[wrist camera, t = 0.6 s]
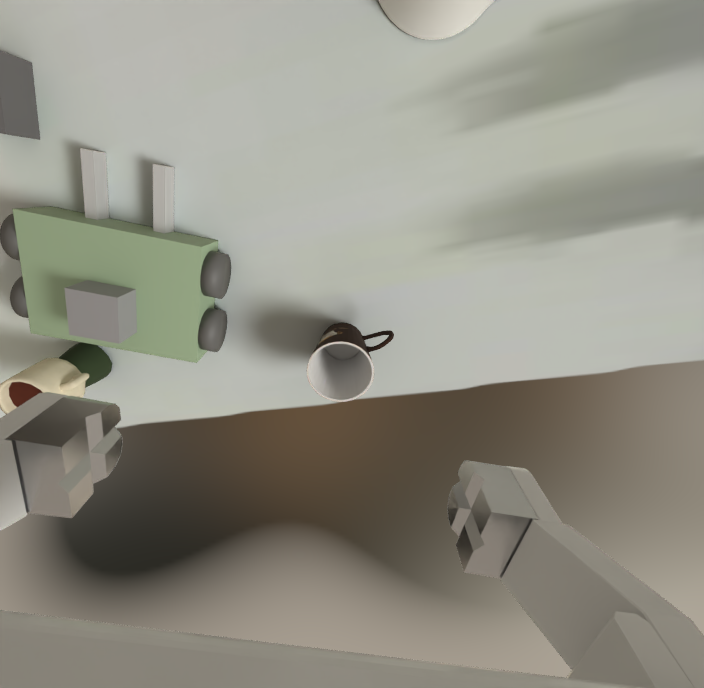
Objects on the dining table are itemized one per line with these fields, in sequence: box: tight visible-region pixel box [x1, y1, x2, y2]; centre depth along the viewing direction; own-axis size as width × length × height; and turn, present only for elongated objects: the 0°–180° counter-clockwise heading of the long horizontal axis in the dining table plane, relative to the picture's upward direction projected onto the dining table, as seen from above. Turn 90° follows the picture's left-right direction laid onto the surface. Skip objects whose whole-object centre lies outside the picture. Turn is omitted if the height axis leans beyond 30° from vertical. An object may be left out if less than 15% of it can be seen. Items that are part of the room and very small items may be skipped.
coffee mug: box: [307, 323, 394, 402], centre depth 52 cm, size 12×9×10 cm
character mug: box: [0, 342, 112, 414], centre depth 51 cm, size 11×7×13 cm, turn 107°
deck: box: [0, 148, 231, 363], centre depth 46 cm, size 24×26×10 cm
